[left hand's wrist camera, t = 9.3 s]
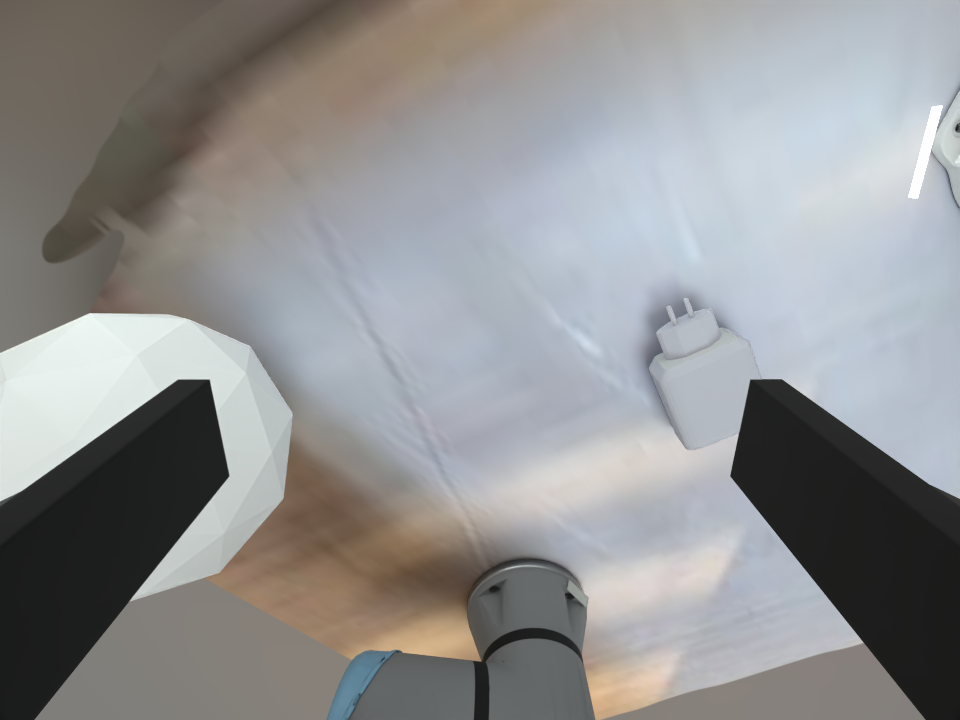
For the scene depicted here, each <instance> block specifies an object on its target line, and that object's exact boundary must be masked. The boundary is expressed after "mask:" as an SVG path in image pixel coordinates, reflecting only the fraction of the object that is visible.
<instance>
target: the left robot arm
mask: <svg viewBox="0 0 960 720" xmlns="http://www.w3.org/2000/svg"><path fill="white" fill-rule="evenodd" d="M229 476H230V475H229V470H228V466H227V461H226V456H225V451H224V446H223V441H222V436H221V432H220V427H219V422H218V417H217V412H216V407H215V403H214V398H213V393H212V388H211V383H210V379H178V380H177V381H175V382H174V383H172V384H171V385H170V386H168V387H167V388H165V389H164V390H163V391H161V392H160V393H158V394H157V395H156V396H154V397H153V398H151V399H150V400H149V401H147V402H146V403H144V404H143V405H142V406H140V407H139V408H137V409H136V410H135V411H133V412H132V413H130V414H129V415H128V416H126V417H125V418H123V419H122V420H121V421H119V422H118V423H116V424H115V425H114V426H112V427H111V428H109V429H108V430H107V431H105V432H104V433H102V434H101V435H100V436H98V437H97V438H95V439H94V440H93V441H91V442H90V443H88V444H87V445H86V446H84V447H83V448H81V449H80V450H79V451H77V452H76V453H74V454H73V455H72V456H70V457H69V458H67V459H66V460H65V461H63V462H62V463H60V464H59V465H57V466H56V467H55V468H53V469H52V470H50V471H49V472H48V473H46V474H45V475H43V476H42V477H41V478H39V479H38V480H36V481H35V482H34V483H32V484H31V485H29V486H28V487H27V488H25V489H24V490H22V491H21V492H19V493H17V494H15V495H12V496H10V497H8V498H6V499H4V500H2V501H0V720H34V719H35V718H36V717H37V716H38V714H39V713H40V712H41V711H42V709H43V708H44V707H45V706H46V705H47V703H48V702H49V701H50V700H51V698H52V697H53V696H54V695H55V693H56V692H57V691H58V690H59V688H60V687H61V686H62V685H63V683H64V682H65V681H66V680H67V678H68V677H69V676H70V675H71V673H72V672H73V671H74V670H75V668H76V667H77V666H78V665H79V663H80V662H81V661H82V660H83V658H84V657H85V656H86V655H87V653H88V652H89V651H90V650H91V648H92V647H93V646H94V645H95V643H96V642H97V641H98V640H99V638H100V637H101V636H102V635H103V633H104V632H105V631H106V630H107V628H108V627H109V626H110V625H111V623H112V622H113V621H114V620H115V618H116V617H117V616H118V615H119V613H120V612H121V611H122V610H123V609H124V607H125V606H126V605H127V604H128V602H129V601H130V600H131V599H132V597H133V596H134V595H135V594H136V592H137V591H138V590H139V589H140V587H141V586H142V585H143V584H144V582H145V581H146V580H147V579H148V577H149V576H150V575H151V574H152V572H153V571H154V570H155V569H156V567H157V566H158V565H159V564H160V562H161V561H162V560H163V559H164V557H165V556H166V555H167V554H168V552H169V551H170V550H171V549H172V547H173V546H174V545H175V544H176V542H177V541H178V540H179V539H180V537H181V536H182V535H183V534H184V532H185V531H186V530H187V529H188V527H189V526H190V525H191V524H192V522H193V521H194V520H195V519H196V518H197V516H198V515H199V514H200V513H201V511H202V510H203V509H204V508H205V506H206V505H207V504H208V503H209V501H210V500H211V499H212V498H213V496H214V495H215V494H216V493H217V491H218V490H219V489H220V488H221V486H222V485H223V484H224V483H225V481H226V480H227V479H228V478H229ZM730 476H731V478H732V479H733V480H734V481H735V483H736V484H737V485H738V486H739V488H740V489H741V490H742V491H743V493H744V494H745V495H746V496H747V498H748V499H749V500H750V501H751V503H752V504H753V505H754V506H755V508H756V509H757V510H758V511H759V513H760V514H761V515H762V516H763V518H764V519H765V520H766V521H767V522H768V524H769V525H770V526H771V527H772V529H773V530H774V531H775V532H776V534H777V535H778V536H779V537H780V539H781V540H782V541H783V542H784V544H785V545H786V546H787V547H788V549H789V550H790V551H791V552H792V554H793V555H794V556H795V557H796V559H797V560H798V561H799V562H800V564H801V565H802V566H803V567H804V569H805V570H806V571H807V572H808V574H809V575H810V576H811V577H812V579H813V580H814V581H815V582H816V584H817V585H818V586H819V587H820V589H821V590H822V591H823V592H824V594H825V595H826V596H827V597H828V599H829V600H830V601H831V602H832V604H833V605H834V606H835V607H836V609H837V610H838V611H839V612H840V614H841V615H842V616H843V617H844V618H845V620H846V621H847V622H848V623H849V625H850V626H851V627H852V628H853V630H854V631H855V632H856V633H857V635H858V636H859V637H860V638H861V640H862V641H863V642H864V643H865V645H866V646H867V647H868V648H869V650H870V651H871V652H872V653H873V655H874V656H875V657H876V658H877V660H878V661H879V662H880V663H881V665H882V666H883V667H884V668H885V670H886V671H887V672H888V673H889V675H890V676H891V677H892V678H893V680H894V681H895V682H896V683H897V685H898V686H899V687H900V688H901V690H902V691H903V692H904V693H905V695H906V696H907V697H908V698H909V699H910V701H911V702H912V703H913V705H914V706H915V707H916V708H917V710H918V711H919V712H920V713H921V714H922V716H923V717H924V718H925V719H926V720H960V499H959V498H956V497H954V496H952V495H950V494H948V493H946V492H944V491H942V490H940V489H938V488H936V487H934V486H931V485H929V484H928V483H926V482H925V481H924V480H922V479H921V478H919V477H918V476H917V475H915V474H914V473H912V472H911V471H910V470H908V469H907V468H905V467H904V466H903V465H901V464H900V463H898V462H897V461H895V460H894V459H893V458H891V457H890V456H888V455H887V454H886V453H884V452H883V451H881V450H880V449H879V448H877V447H876V446H874V445H873V444H872V443H870V442H869V441H867V440H866V439H865V438H863V437H862V436H860V435H859V434H858V433H856V432H855V431H853V430H852V429H851V428H849V427H848V426H846V425H845V424H844V423H842V422H841V421H839V420H838V419H837V418H835V417H834V416H832V415H831V414H830V413H828V412H827V411H825V410H824V409H823V408H821V407H820V406H818V405H817V404H816V403H814V402H813V401H811V400H810V399H809V398H807V397H806V396H804V395H803V394H802V393H800V392H799V391H797V390H796V389H795V388H793V387H792V386H790V385H789V384H788V383H786V382H785V381H783V380H782V379H750V383H749V388H748V393H747V398H746V402H745V407H744V412H743V417H742V422H741V427H740V432H739V436H738V441H737V446H736V451H735V456H734V461H733V466H732V470H731V475H730ZM587 604H588V597H587V596H586V595H585V594H584V593H583V590H582V588H581V586H580V584H579V582H578V581H577V580H576V578H575V577H574V576H573V575H572V574H571V573H569V572H568V571H567V570H565V569H563V568H562V567H560V566H558V565H556V564H553V563H550V562H547V561H542V560H535V559H521V560H514V561H509V562H506V563H503V564H500V565H498V566H495V567H493V568H492V569H490V570H488V571H487V572H486V573H484V574H483V575H482V576H481V577H480V578H479V579H478V580H477V581H476V582H475V584H474V585H473V587H472V589H471V591H470V594H469V597H468V609H467V616H468V622H469V627H470V630H471V633H472V636H473V639H474V642H475V644H476V647H477V650H478V653H479V656H480V658H481V661H482V662H478V661H470V660H461V659H452V658H443V657H435V656H426V655H417V654H408V653H402V651H400V650H392V651H390V652H388V651H372V650H369V651H365V652H363V653H361V654H359V655H357V656H356V657H355V658H354V659H353V660H352V661H351V663H350V664H349V666H348V667H347V669H346V671H345V673H344V675H343V677H342V679H341V681H340V684H339V686H338V688H337V691H336V694H335V696H334V699H333V702H332V705H331V707H330V710H329V714H328V717H327V720H595V716H594V711H593V706H592V702H591V697H590V692H589V688H588V683H587V678H586V673H585V669H584V664H583V659H582V647H583V640H584V634H585V627H586V620H587Z"/></svg>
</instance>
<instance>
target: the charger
mask: <svg viewBox="0 0 960 720" xmlns="http://www.w3.org/2000/svg"><path fill="white" fill-rule="evenodd" d="M683 302H684V305H685V307H686V310H687V313H688V314H685V315H683V316H681V317H679V318H677V319H676V317H675V314H674V312H673V309H672V307H671V306H670V305H669V306H667V307H666V310H667V312H668V315H669V317H670V320H671V321H670V322H668V323H667V324H665V325H664V326H663V327H661V328H660V329H659V330H658V331H657V332H656V335H657V338H658V340H659V342H660V345H661V347H662V350H663V352H662V353H660V354H658V355H656V356H655V357H654V359H653V361H652V363H651V364H650V366H649V371H650V374H651V376H652V379H653V381H654V383H655V386H656V388H657V391H658V393H659V395H660V398H661V400H662V402H663V405H664V407H665V410H666V412H667V414H668V417H669V419H670V422H671V424H672V426H673V429H674V431H675V434H676V435H677V437H678V438H679V439H680V441H681V442H682V444H683V445H684V447H685V448H686V449H687V450H695V449H699V448H703V447H705V446H708V445H710V444H713V443H715V442H718V441H720V440H723V439H725V438H728V437H730V436H732V435H735V434H737V433H739V432H740V427H741V422H742V417H743V412H744V407H745V402H746V398H747V393H748V388H749V383H750V379H762V378H761V375H760V372H759V369H758V366H757V363H756V360H755V357H754V354H753V351H752V348H751V345H750V342H749V341H748V340H747V339H745V338H744V337H742V336H741V335H739V334H738V333H736V332H735V331H732V330H729V329H726V328H722V327H720V328H719V327H718V324H717V322H716V319H715V316H714V313H713V310H712V308H705V309H701V310H697V311H694V312H693V310H692V307H691V304H690V301H689V299H688V298H684V299H683Z"/></svg>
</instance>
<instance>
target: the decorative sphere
mask: <svg viewBox="0 0 960 720" xmlns="http://www.w3.org/2000/svg"><path fill="white" fill-rule="evenodd" d="M178 379H210V383H211V388H212V393H213V398H214V403H215V407H216V412H217V417H218V422H219V427H220V432H221V436H222V441H223V446H224V451H225V456H226V461H227V466H228V470H229V475H230V476H229V478H228V479H227V480H226V481H225V483H224V484H223V485H222V486H221V488H220V489H219V490H218V491H217V493H216V494H215V495H214V496H213V498H212V499H211V500H210V501H209V503H208V504H207V505H206V506H205V508H204V509H203V510H202V511H201V513H200V514H199V515H198V516H197V518H196V519H195V520H194V521H193V522H192V524H191V525H190V526H189V527H188V529H187V530H186V531H185V532H184V534H183V535H182V536H181V537H180V539H179V540H178V541H177V542H176V544H175V545H174V546H173V547H172V549H171V550H170V551H169V552H168V554H167V555H166V556H165V557H164V559H163V560H162V561H161V562H160V564H159V565H158V566H157V567H156V569H155V570H154V571H153V572H152V574H151V575H150V576H149V577H148V579H147V580H146V581H145V582H144V584H143V585H142V586H141V587H140V589H139V590H138V591H137V592H136V594H135V595H134V596H133V597H132V599H131V600H130V601H133V600H136V599H139V598H142V597H145V596H148V595H151V594H155V593H158V592H161V591H164V590H167V589H170V588H173V587H177V586H180V585H183V584H186V583H189V582H192V581H195V580H199V579H202V578H205V577H208V576H211V575H214V574H217V573H219V572H220V571H221V570H222V569H223V568H224V567H225V566H226V564H227V563H228V562H229V561H230V560H231V559H232V557H233V556H234V555H235V554H236V553H237V552H238V551H239V549H240V548H241V547H242V546H243V545H244V544H245V543H246V541H247V540H248V539H249V538H250V537H251V536H252V534H253V533H254V532H255V531H256V530H257V529H258V528H259V526H260V525H261V524H262V523H263V522H264V521H265V519H266V518H267V517H268V516H269V515H270V514H271V513H272V511H273V510H274V509H275V508H276V507H277V506H278V504H279V503H280V502H281V501H282V500H283V498H284V489H285V481H286V472H287V463H288V454H289V445H290V436H291V427H292V419H293V413H292V412H291V410H290V409H289V407H288V405H287V404H286V402H285V401H284V399H283V398H282V396H281V394H280V393H279V391H278V390H277V388H276V386H275V385H274V383H273V382H272V380H271V378H270V377H269V375H268V374H267V372H266V371H265V369H264V367H263V366H262V364H261V363H260V361H259V359H258V358H257V356H256V355H255V353H254V351H253V350H252V348H251V347H250V346H249V345H246V344H244V343H242V342H239V341H237V340H235V339H233V338H230V337H228V336H226V335H223V334H221V333H219V332H217V331H214V330H212V329H210V328H207V327H205V326H203V325H201V324H198V323H196V322H194V321H191V320H189V319H185V318H181V317H177V316H173V315H169V314H103V313H89V314H87V315H85V316H82V317H80V318H78V319H76V320H74V321H71V322H69V323H67V324H64V325H62V326H60V327H58V328H56V329H53V330H51V331H49V332H47V333H44V334H42V335H40V336H38V337H35V338H33V339H31V340H29V341H26V342H24V343H22V344H20V345H17V346H15V347H13V348H11V349H8V350H6V351H4V352H2V353H0V501H2V500H4V499H6V498H8V497H10V496H12V495H15V494H17V493H19V492H21V491H22V490H24V489H25V488H27V487H28V486H29V485H31V484H32V483H34V482H35V481H36V480H38V479H39V478H41V477H42V476H43V475H45V474H46V473H48V472H49V471H50V470H52V469H53V468H55V467H56V466H57V465H59V464H60V463H62V462H63V461H65V460H66V459H67V458H69V457H70V456H72V455H73V454H74V453H76V452H77V451H79V450H80V449H81V448H83V447H84V446H86V445H87V444H88V443H90V442H91V441H93V440H94V439H95V438H97V437H98V436H100V435H101V434H102V433H104V432H105V431H107V430H108V429H109V428H111V427H112V426H114V425H115V424H116V423H118V422H119V421H121V420H122V419H123V418H125V417H126V416H128V415H129V414H130V413H132V412H133V411H135V410H136V409H137V408H139V407H140V406H142V405H143V404H144V403H146V402H147V401H149V400H150V399H151V398H153V397H154V396H156V395H157V394H158V393H160V392H161V391H163V390H164V389H165V388H167V387H168V386H170V385H171V384H172V383H174V382H175V381H177V380H178ZM130 601H129V602H130Z"/></svg>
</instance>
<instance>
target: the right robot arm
mask: <svg viewBox="0 0 960 720" xmlns="http://www.w3.org/2000/svg"><path fill="white" fill-rule="evenodd" d="M941 109H942V106H936V107H932V110H931V114H930V118H929V121H928V125H927V129H926V133H925V137H924V140H923V144H922V148H921V152H920V156H919V159H918V163H917V167H916V171H915V175H914V178H913V182H912V186H911V190H910V194H909V197H910V198H918V195H919V191H920V187H921V183H922V180H923V176H924V172H925V169H926V165H927V161H928V157H929V154H930V150H931V149H932V152H933V154H934V156H935V157H936V158H937V160H938V161H939V162H940V163H941V164H942V165H943V166H944V167H945V168H946V169H947V172H948V174H949V178H950V182H951V187H952V191H953V195H954V197H955V200H956V202H957V204H958V205H959V207H960V90H959V92H958V94H957V96H956V97H955V99H954V101H953V103H952V105H951V106H950V108H949V110H948V112H947V114H946V115H945V117H944V119H943V121H942V123H941V124H940V126H939V128H938V130H937V132H936V133H935V131H936V128H937V124H938V120H939V117H940V113H941ZM957 124H958V129H957V131H955V127H956V125H957Z"/></svg>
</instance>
